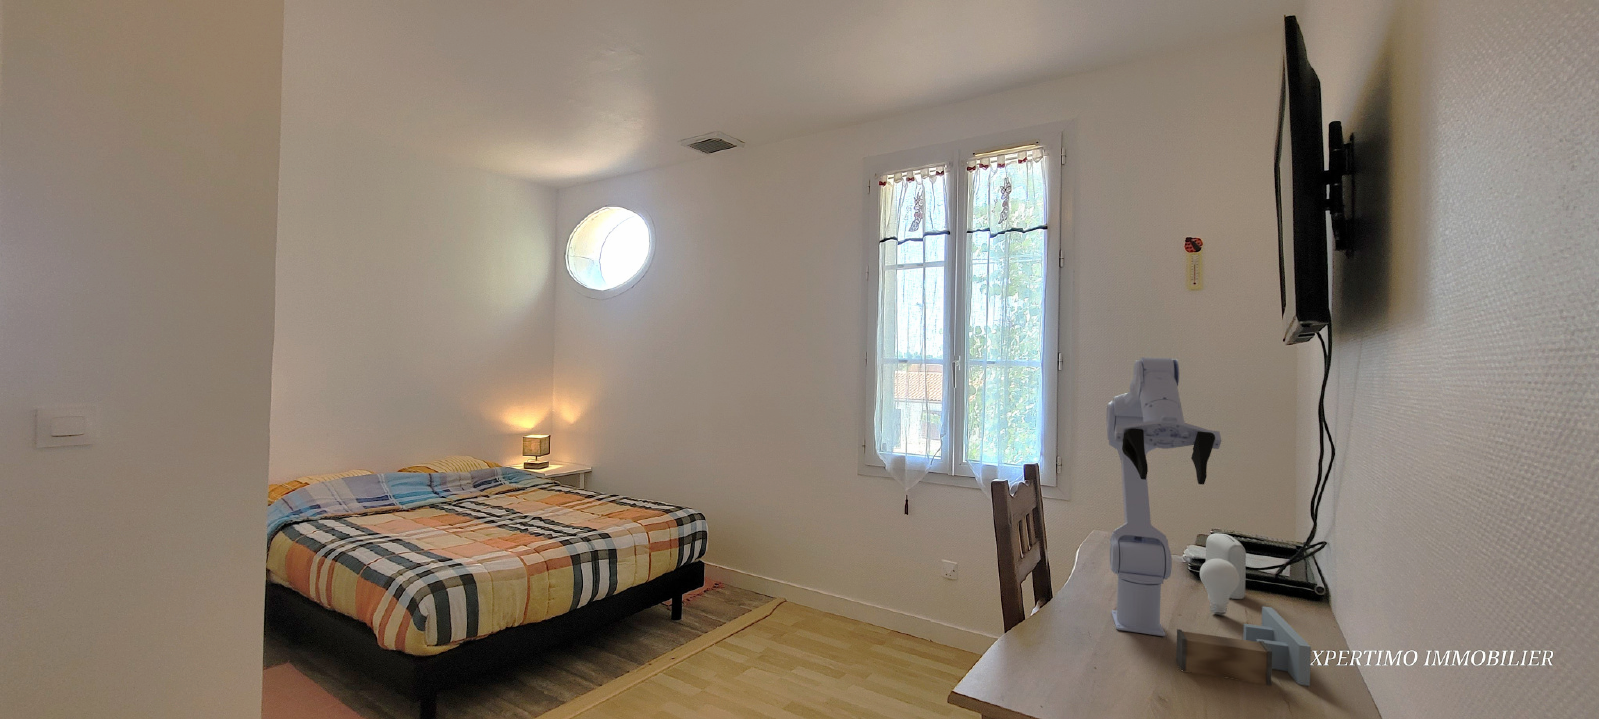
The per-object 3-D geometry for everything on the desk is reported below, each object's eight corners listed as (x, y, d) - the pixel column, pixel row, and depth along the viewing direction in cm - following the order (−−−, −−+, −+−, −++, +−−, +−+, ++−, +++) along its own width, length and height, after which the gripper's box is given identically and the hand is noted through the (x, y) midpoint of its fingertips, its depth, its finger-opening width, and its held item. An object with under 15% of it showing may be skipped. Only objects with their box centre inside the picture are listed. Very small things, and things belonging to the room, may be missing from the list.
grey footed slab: (1235, 636, 123) (1236, 603, 123) (1270, 641, 121) (1271, 607, 121) (1267, 679, 106) (1269, 640, 106) (1309, 685, 104) (1310, 646, 104)
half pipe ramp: (1181, 671, 108) (1182, 638, 108) (1176, 660, 112) (1177, 629, 112) (1271, 685, 104) (1272, 651, 104) (1262, 673, 108) (1263, 641, 108)
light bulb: (1224, 609, 137) (1226, 554, 137) (1245, 622, 130) (1247, 564, 130) (1191, 608, 137) (1193, 553, 137) (1210, 620, 130) (1212, 563, 130)
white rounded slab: (1201, 583, 153) (1203, 528, 153) (1221, 584, 153) (1223, 529, 153) (1226, 599, 143) (1228, 540, 143) (1248, 600, 143) (1249, 541, 143)
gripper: (1116, 391, 110) (1122, 455, 100) (1218, 396, 105) (1235, 464, 96) (1110, 422, 114) (1116, 485, 105) (1209, 428, 110) (1224, 495, 100)
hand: (1173, 477), depth 100 cm, fingers open, 7 cm apart
